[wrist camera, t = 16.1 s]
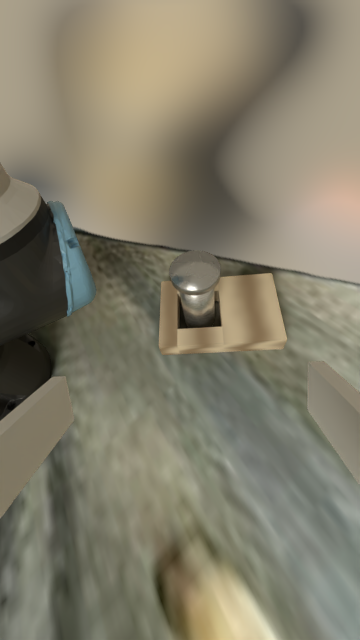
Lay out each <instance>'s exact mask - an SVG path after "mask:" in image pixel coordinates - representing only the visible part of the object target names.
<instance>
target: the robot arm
mask: <svg viewBox="0 0 360 640" xmlns="http://www.w3.org/2000/svg"><path fill="white" fill-rule="evenodd" d="M95 295H96V286H95V283H94V280H93V278H92V275H91V272H90V270H89V267H88V265H87V262H86V259H85V257H84V254H83V252H82V250H81V247H80V245H79V243H78V240H77V237H76V235H75V232H74V229H73V227H72V224H71V222H70V219H69V217H68V215H67V212H66V210H65V208H64V205H63V204H62V203H61V202H58V201H56V202H53V201H49V202H47V204H46V203H45V202H44V200H43V198H42V197H41V195H40V193H39V192H38V190H37V189H36V188H35V187H34V186H32V185H30V184H28V183H25V182H22V181H20V180H17V179H14V178H11V177H10V176H9V175H8V174H7V173H6V171H5V169H4V168H3V166H2V165H1V164H0V518H1V517H2V516H3V514H4V513H5V512H6V510H7V509H8V508H9V506H10V505H11V504H12V502H13V501H14V500H15V498H16V497H17V496H18V494H19V493H20V492H21V490H22V489H23V488H24V486H25V485H26V484H27V482H28V481H29V480H30V478H31V477H32V476H33V474H34V473H35V472H36V470H37V469H38V468H39V466H40V465H41V464H42V462H43V461H44V460H45V458H46V457H47V456H48V454H49V453H50V452H51V450H52V449H53V448H54V446H55V445H56V444H57V442H58V441H59V440H60V438H61V437H62V436H63V434H64V433H65V432H66V430H67V429H68V428H69V426H70V425H71V424H72V422H73V421H74V415H73V410H72V405H71V400H70V395H69V390H68V385H67V380H66V376H59V377H52V378H51V379H50V380H49V378H50V373H51V361H50V357H49V354H48V352H47V350H46V348H45V347H44V346H43V345H42V344H41V343H40V342H38V341H37V340H36V339H35V338H33V337H32V336H30V335H28V333H30V332H32V331H34V330H36V329H39V328H41V327H43V326H45V325H48V324H50V323H52V322H54V321H56V320H59V319H61V318H63V317H65V316H67V317H68V316H70V315H71V314H72V312H74V311H76V310H78V309H80V308H82V307H83V306H85V305H87V304H89V303H91V301H92V300H93V299H94V297H95ZM307 410H308V411H309V413H310V414H311V416H312V417H313V418H314V420H315V421H316V423H317V424H318V426H319V427H320V429H321V430H322V432H323V433H324V434H325V436H326V437H327V439H328V440H329V442H330V443H331V445H332V446H333V447H334V449H335V450H336V452H337V453H338V455H339V456H340V458H341V459H342V460H343V462H344V463H345V465H346V466H347V468H348V469H349V471H350V472H351V473H352V475H353V476H354V478H355V479H356V481H357V482H358V484H359V485H360V392H359V391H357V390H356V389H355V388H354V387H353V386H352V385H350V384H349V383H348V382H347V381H346V380H345V379H344V378H342V377H341V376H340V375H339V374H338V373H337V372H335V371H334V370H333V369H332V368H331V367H330V366H329V365H327V364H326V363H325V362H324V361H318V362H308V405H307Z"/></svg>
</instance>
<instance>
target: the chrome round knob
mask: <svg viewBox="0 0 360 640" xmlns="http://www.w3.org/2000/svg"><path fill="white" fill-rule="evenodd" d="M220 271H221V269H220V263H219V261H218V260H217V258H216V257H215V256H213V255H212V254H210V253H208V252H204V251H189V252H186V253H183V254H181V255H179V256H178V257H177V258H176V259H175V260H174V261H173V262H172V264H171V266H170V270H169V273H170V278H171V282H172V285H173V286H174V288H175V289H176V290H178V291H179V292H180V297H181V302H182V307H183V312H184V318H185V323H186V325H187V327H188V328H205V327H212V326H213V324H214V321H215V307H214V288H215V287H216V286H217V284H218V282H219V280H220Z"/></svg>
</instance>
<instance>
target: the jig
mask: <svg viewBox="0 0 360 640" xmlns="http://www.w3.org/2000/svg"><path fill="white" fill-rule="evenodd" d="M215 301H219V311H220V322H221V327H205V328H188V329H180V304H182V302H181V297H180V292H179V291H178V290H176V289H175V288H174V286H173V285H172V282H171V281H163V282H161V305H160V329H159V348H160V351H161V353H162V355H171V354H191V353H211V352H231V351H251V350H271V349H283V347H284V345H285V343H286V341H287V336H286V332H285V328H284V323H283V319H282V315H281V310H280V306H279V302H278V298H277V293H276V289H275V285H274V280H273V276H272V273H267V274H254V275H241V276H228V277H220V280H219V282H218V284H217V286H216V287H215V288H214V302H215Z"/></svg>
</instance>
